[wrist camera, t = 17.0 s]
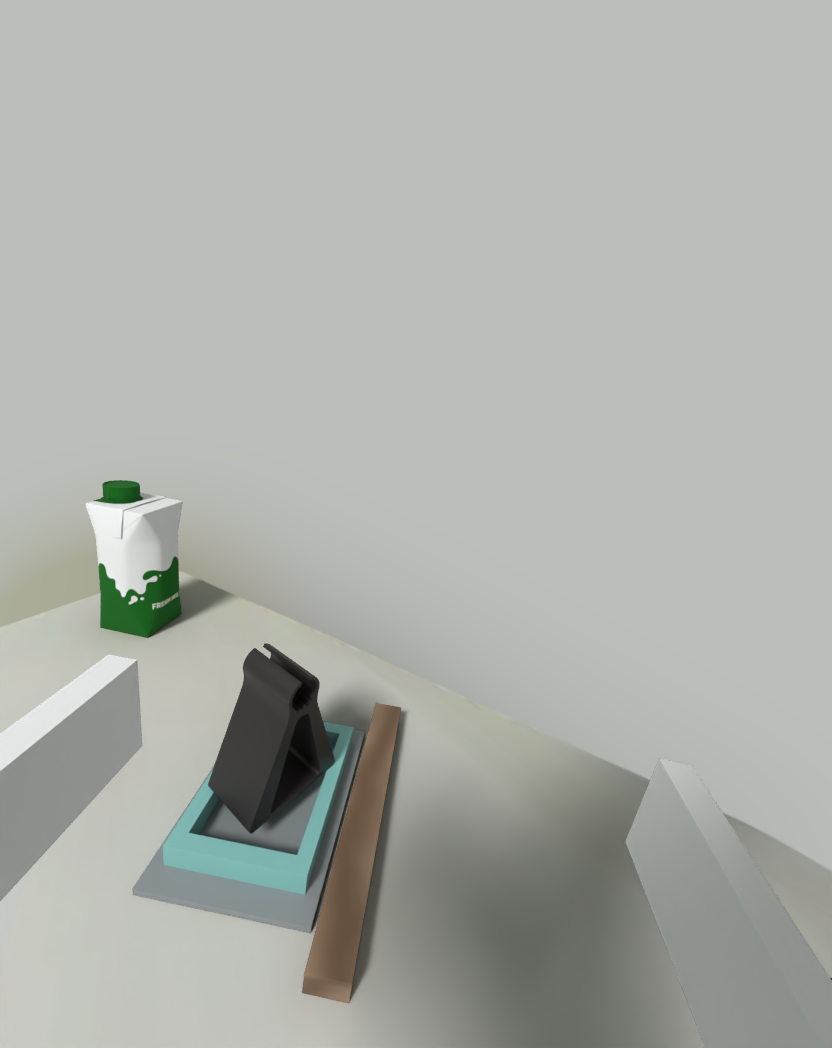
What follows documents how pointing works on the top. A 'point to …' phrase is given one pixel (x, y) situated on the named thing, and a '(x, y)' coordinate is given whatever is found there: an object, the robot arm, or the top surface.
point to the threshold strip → (352, 867)
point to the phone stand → (271, 740)
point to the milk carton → (136, 558)
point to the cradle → (257, 849)
